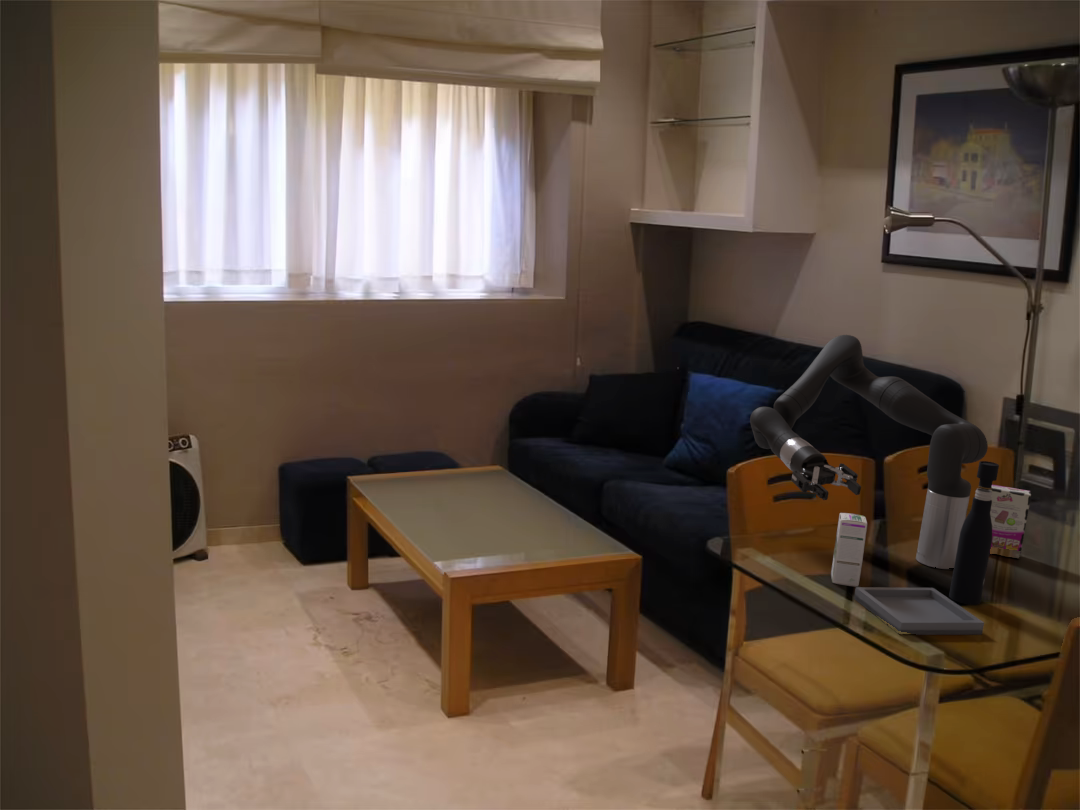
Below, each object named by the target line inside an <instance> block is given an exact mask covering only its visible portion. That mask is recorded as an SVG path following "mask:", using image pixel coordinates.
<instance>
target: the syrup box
mask: <svg viewBox="0 0 1080 810" xmlns="http://www.w3.org/2000/svg"><path fill="white" fill-rule="evenodd" d="M867 530H868V521H867V517H866V516H865V515H861V514H857V513H848V512H840V513H839V515H838V522H837V530H836V533H835V534H836V535H835V543H834V548H833V556H832V565H831V569H830V570H831V571H830V577H831V583H833V584H835V585H836V584H837V585H842V586H848V587H855V588H856V587H860V586H859V585H860V578H861V573H862V566H863V558H864V554H865V553H864V551H865V545H866V537H867Z"/></svg>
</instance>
